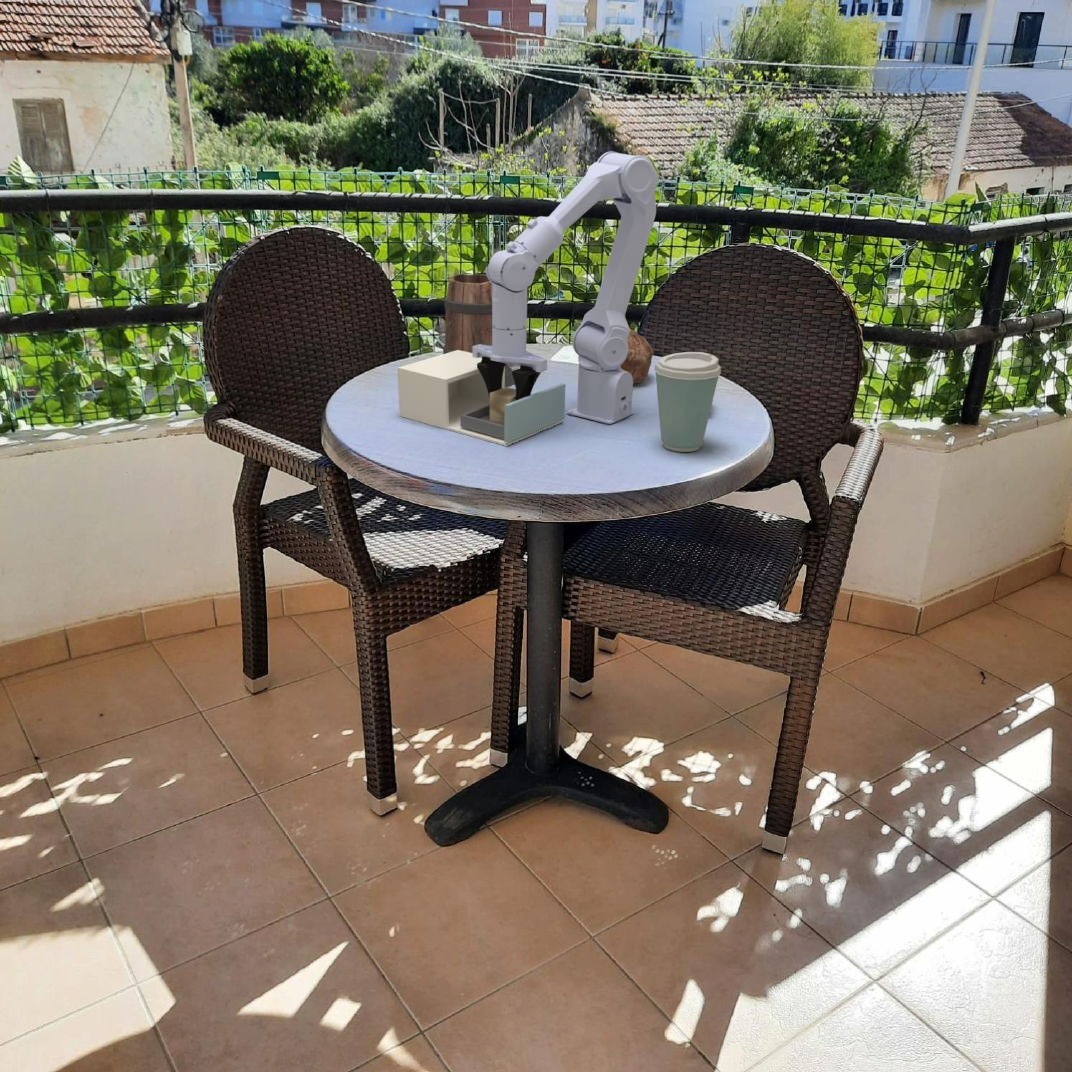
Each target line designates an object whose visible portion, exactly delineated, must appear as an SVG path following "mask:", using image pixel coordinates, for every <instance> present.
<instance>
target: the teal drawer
mask: <svg viewBox="0 0 1072 1072" xmlns="http://www.w3.org/2000/svg"><path fill="white" fill-rule="evenodd" d="M565 399H566V384H565V383H559V384H557V385H553V386H551V387H549V388H546V389H543V390H541V391H538V392H535V393H531V395H530V396H527V397H524V398H522V399H519V400H516V401H514V402H511V403H508V404H506V405H505V414H504V425H503V424H499V423H496V422H492V421H490V404H489V405H487V406H484V407H481V408H478V409H476V410H473V411H470V412H468V413H465V414H462V415H460V420H461V427H463V428H466V429H470V430H473V431H477V432H481V433H484V434H488V435H491V436H495V437H498V438H502V439H504V442H507V443H509V442H511V441H514V440H516V439H518V438H521V437H523V436H525V435H528V434H530V433H532V432H535V431H537V430H539V429H542V428H544V427H546V426H549V425H551V424H553V423H556V422H558V421H561V420H562V421H563V420H565V408H566V406H565V405H566V402H565V401H566V400H565Z"/></svg>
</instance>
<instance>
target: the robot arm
mask: <svg viewBox="0 0 1072 1072" xmlns="http://www.w3.org/2000/svg"><path fill="white" fill-rule="evenodd" d="M588 167H589V168H588V169H587V171H586V174H585V175H584V176H583V178H581V180H580V181H579V182H578V183H577V184H576V185H575V186H574V187H573V189H572V190H571V191H570V192H569V193H568V194H567V196H566V197H565V198H564V199H563V200H562V201H561V202H560V203H559V205H558V206H557V207H556V208H555V209H554V210H553V211H552V212H551V213H550V214H549V216H538V217H536V218H535V219H533V218H530V219H529V221H528V222H526V228H525V229H524V230H523V231H522V232H521V233H520V234H519V235H518V236H517V237H516V238H515V239H514V241H511V240H510V241H509V242H508V243H507V244H506V249H504V250H499V251H496V252H495V253H494V254H493V255H492V256H491V258H490V260H489V263H488V267H485V275H487V277H488V279H489V280H490V281H491V283H492V346H487V345H481V344H479V345H475V346H473V347H472V350H473V357H474V358H479V357H480V358H482V360H481V362H479V363H477V368H478V370H479V371H480V373H481V375H482V377H483V379H484V381H485V384H486V387H487V390H488V394H489V398H490V393H491V392H494V391H497V390H499V389H502V377H503V371H504V367H505V363H507V365H511V366H516V367H519V368H516V369H513V370H512V375H513V378H514V382H515V385H514V386H515V389H516V400H519V399H522V398H524V397H527V396H530V395H532V391H533V389H534V386H535V384H536V382H537V381H538V379H539V377H540V375H541V373H542V372H546V371H548V358H545V357H541V356H539V355H537V354H534V353H532V352H530V351H527V332H528V331H527V325H528V324H527V323H528V319H527V318H528V287H529V286H531V285H532V284H533V282H534V279H535V277H536V276H535V275H536V271H537V270H538V269H539V268H540V266H541V265H542V264H543V263H544V262H545V261H547V260H548V258H550V256H551V255H553V253H555V251H556V250H557V249H558V248H559V247H560V246H562V244H563V241H564V233H565V231H566V230H567V229H569V227H570V226H572V225H573V224H574V223H576V221H578V220H579V219H580V218H581V217H583V215H584V214H585V213H586V212H587V211H589V210H590V209H591V208H592V207H593V206H595V204H597V203H598V202H599V201H602V200H604V201H605V200H612V201H613V203H614V204H615V206H616V208H617V210H618V212H619V214H620V216H621V217H620V220H619V224H618V227H617V231H616V233H615V234H616V235H615V237H614V241H613V243H612V247H611V251H610V254H609V258H608V261H607V264H606V268H605V271H604V273H603V278H602V281H601V284H600V287H599V291H598V293H597V298H596V302H595V305H594V307H592V309H590V310H588V311H587V312H586V313H585V314H584V316H583V319H582V322H581V324H580V325H579V326H578V328H577V329H576V330H575V332H574V333H573V337H572V348H573V350H574V352H575V354H577V356H578V372H577V373H578V374H577V375H578V377H577V378H578V379H577V381H578V382H577V399H576V400H577V402H576V407H574V408H571V409H568V410H567V411H566V413H567V414H568V415H572V416H576V417H580V418H584V419H588V420H590V421H591V420H592V421H596V422H600V423H603V424H608V425H612V424H614V423H617V422H619V421H620V420H622V419H625V418H627V417H630V416H631V415H633V414H634V411H633V410H632V403H633V402H632V401H633V393H634V392H633V391H634V390H633V389H634V383H633V378H632V375H631V374H630V373H629V372H627V371H624V370H623V369H621V364H622V363H623V362H624V361H625V359H626V357H627V354H628V336H629V333H630V329H631V328H630V327H629V324H628V323H629V322H627V319H626V312H627V310H628V306H629V303H630V300H631V296H632V293H633V291H634V287H635V283H636V281H637V277H638V273H639V270H640V267H641V265H642V260H643V258H644V255H645V251H646V247H647V245H648V241H649V239H650V234H651V231H652V228H653V225H654V221H655V218H656V214H657V200H656V188H657V185H658V181H659V178H660V176H659V174H658V172H657V170H656V169H655V166H654V165H653V162H652V161H651V159H649V158H648V157H646V156H644V155H640V154H639V155H638V154H637V155H633V154H625V153H619V152H617V151H607V152H605V153H603V154H602V155H601V156H600V157H599V158H598V159H597V161H595V162H593V164H590V166H588Z"/></svg>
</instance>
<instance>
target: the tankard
mask: <svg viewBox="0 0 1072 1072" xmlns="http://www.w3.org/2000/svg"><path fill="white" fill-rule="evenodd" d="M444 308H445V323H444V324H445V325H444V327H445V328H444V329H445V330H444V331H445V332H444V345H443V346H442V347H443V350H442V351H443V352H442V353H443V354H446V353H449V352H453V351H456V350H461V351H465V352H469V353H473V350H472V347H473V346H475V345H479V344H481V345H487V346H492V283H491V281H490V280H489V279H488V277H487V274H484V273H481V274H479V273H478V274H465V273H458V274H453V275H450V276H449V278H448V284H447V291H446V296H445V297H444ZM508 365H509V364H507V363H505V387H508V388H511V387H513V386H515V382H514V378H513V375H512V371H513V369H512V368H511V367H510V366H508ZM512 385H513V386H512Z"/></svg>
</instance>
